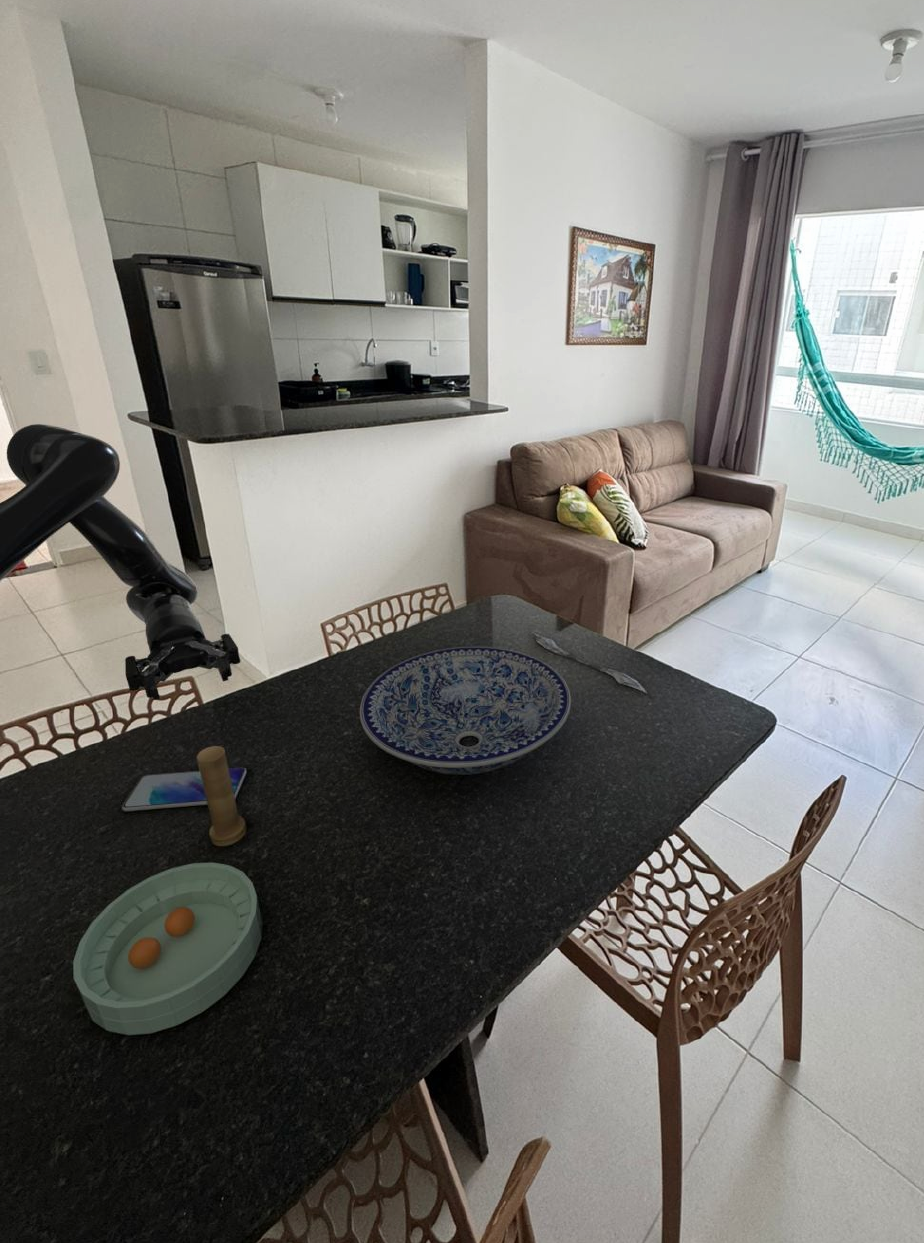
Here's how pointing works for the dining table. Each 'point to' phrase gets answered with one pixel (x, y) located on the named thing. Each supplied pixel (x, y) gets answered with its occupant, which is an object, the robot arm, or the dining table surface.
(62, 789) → the dining table surface
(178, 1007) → the pale green shallow dish
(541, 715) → the ceramic bowl
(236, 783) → the smartphone
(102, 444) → the robot arm
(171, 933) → the bead
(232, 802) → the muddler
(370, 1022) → the dining table surface
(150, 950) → the bead
